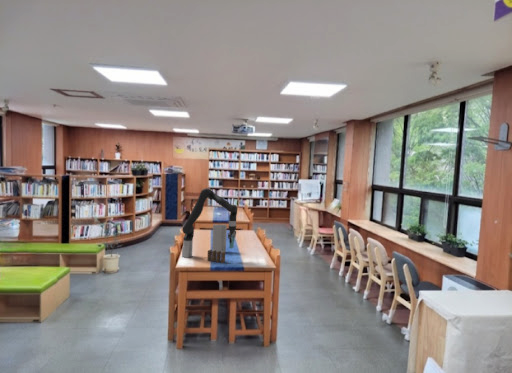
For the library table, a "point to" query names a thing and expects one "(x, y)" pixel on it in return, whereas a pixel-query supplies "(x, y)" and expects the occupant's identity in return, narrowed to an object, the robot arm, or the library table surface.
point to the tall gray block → (219, 238)
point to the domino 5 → (232, 243)
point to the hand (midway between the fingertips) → (231, 242)
